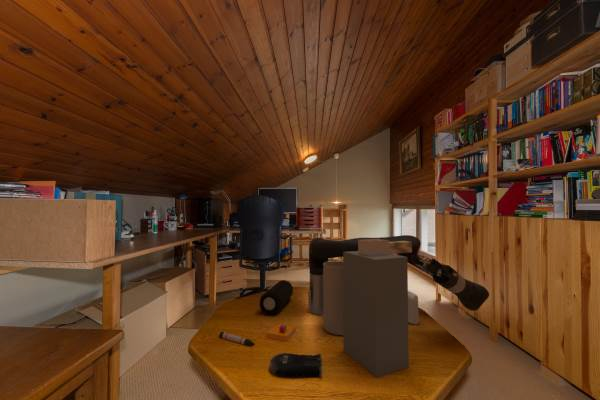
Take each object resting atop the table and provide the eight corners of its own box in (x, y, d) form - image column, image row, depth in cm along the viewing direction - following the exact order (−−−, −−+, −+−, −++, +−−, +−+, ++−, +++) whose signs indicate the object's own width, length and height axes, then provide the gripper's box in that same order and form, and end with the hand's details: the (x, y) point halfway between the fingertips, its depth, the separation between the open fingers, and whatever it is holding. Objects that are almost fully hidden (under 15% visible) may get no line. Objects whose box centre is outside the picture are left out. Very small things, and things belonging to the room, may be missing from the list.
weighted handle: (402, 250, 93) (402, 237, 93) (414, 252, 88) (414, 239, 88) (358, 253, 85) (358, 239, 85) (368, 256, 80) (368, 241, 80)
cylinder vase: (329, 320, 112) (329, 260, 113) (359, 325, 106) (358, 262, 107) (318, 332, 101) (318, 265, 102) (350, 339, 95) (350, 268, 96)
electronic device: (319, 365, 82) (271, 357, 82) (322, 348, 81) (273, 340, 82) (320, 389, 72) (266, 380, 73) (323, 370, 72) (268, 361, 72)
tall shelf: (372, 342, 92) (371, 250, 94) (408, 367, 78) (407, 257, 79) (343, 350, 87) (343, 251, 89) (376, 377, 73) (375, 259, 74)
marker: (219, 338, 96) (219, 332, 96) (223, 336, 97) (223, 330, 97) (253, 349, 88) (253, 342, 88) (256, 346, 90) (256, 340, 90)
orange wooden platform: (266, 338, 96) (266, 326, 96) (276, 329, 103) (276, 318, 103) (287, 342, 93) (287, 330, 93) (295, 333, 100) (295, 321, 101)
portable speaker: (276, 297, 142) (276, 278, 142) (294, 299, 139) (294, 279, 140) (257, 315, 117) (257, 292, 117) (278, 317, 115) (279, 294, 115)
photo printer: (392, 317, 115) (391, 288, 115) (397, 315, 117) (397, 287, 118) (415, 325, 107) (414, 294, 107) (420, 323, 109) (419, 292, 110)
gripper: (435, 266, 106) (409, 247, 100) (471, 273, 93) (443, 252, 87) (428, 283, 104) (401, 265, 98) (464, 293, 91) (435, 273, 85)
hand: (421, 259), depth 93 cm, fingers open, 8 cm apart
